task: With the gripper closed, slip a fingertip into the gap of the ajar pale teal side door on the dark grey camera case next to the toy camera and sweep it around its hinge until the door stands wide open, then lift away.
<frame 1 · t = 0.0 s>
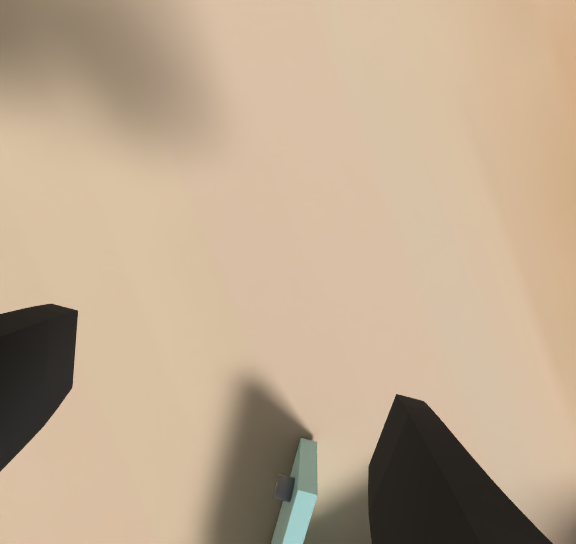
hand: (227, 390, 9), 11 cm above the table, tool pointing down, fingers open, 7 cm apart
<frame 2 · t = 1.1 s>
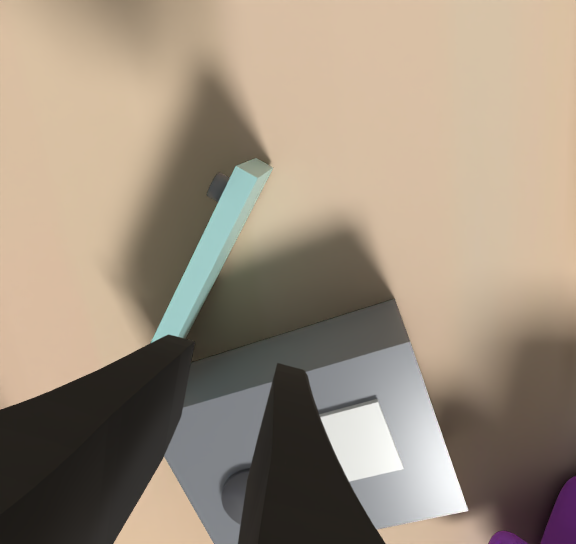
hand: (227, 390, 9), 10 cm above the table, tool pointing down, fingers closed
camera case: (310, 404, 21), on the table
side door: (191, 278, 17), point 2 cm above the table, hinge at 40.0°
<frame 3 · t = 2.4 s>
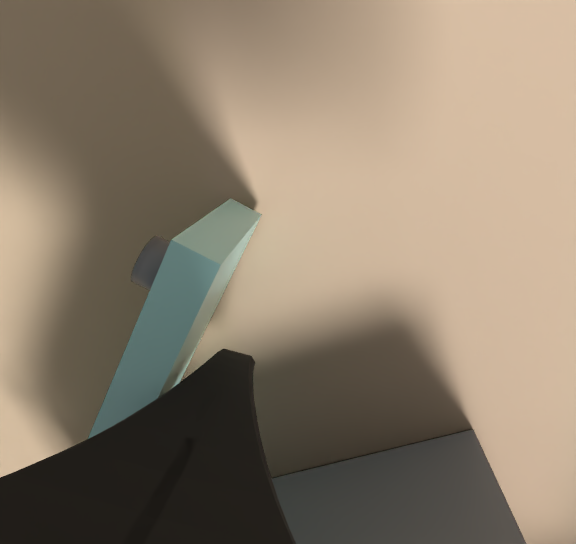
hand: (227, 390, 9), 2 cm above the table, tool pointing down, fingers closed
side door: (122, 415, 10), point 2 cm above the table, hinge at 41.3°, touching gripper
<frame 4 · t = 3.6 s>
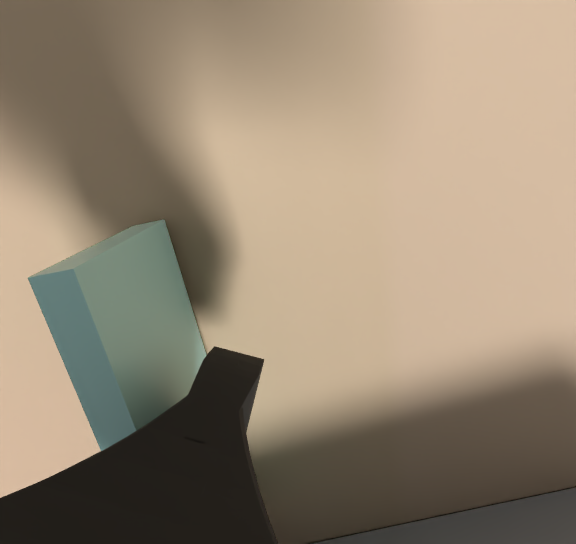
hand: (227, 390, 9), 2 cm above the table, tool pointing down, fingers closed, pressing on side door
side door: (172, 455, 10), point 2 cm above the table, hinge at 80.7°, touching gripper
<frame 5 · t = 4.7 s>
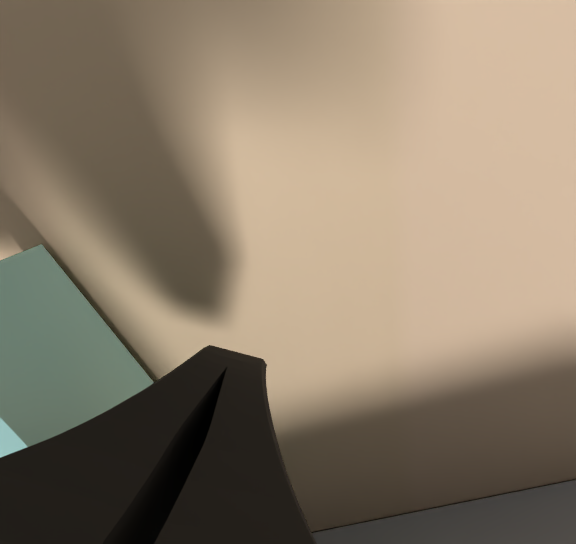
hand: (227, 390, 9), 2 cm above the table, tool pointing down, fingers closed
side door: (114, 459, 10), point 2 cm above the table, hinge at 101.9°
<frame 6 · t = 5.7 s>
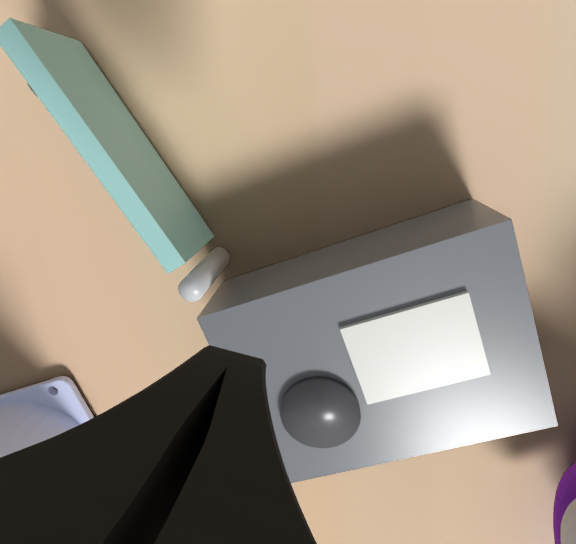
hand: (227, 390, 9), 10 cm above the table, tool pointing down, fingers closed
camera case: (368, 323, 19), on the table
side door: (127, 173, 16), point 2 cm above the table, hinge at 102.0°
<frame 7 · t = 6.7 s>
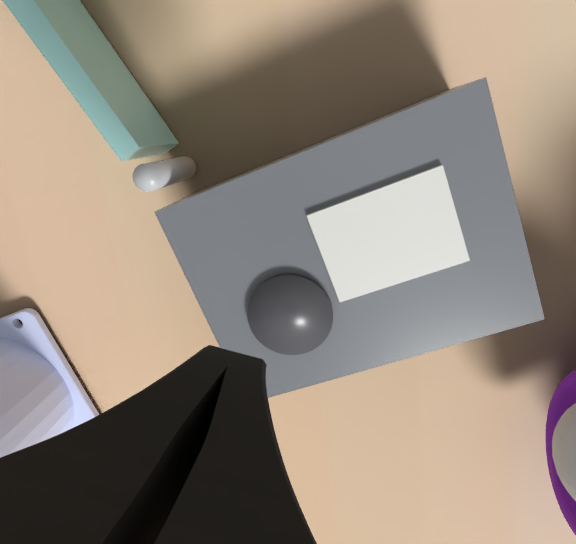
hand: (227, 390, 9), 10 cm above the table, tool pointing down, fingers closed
camera case: (345, 236, 18), on the table
side door: (78, 61, 15), point 2 cm above the table, hinge at 102.0°
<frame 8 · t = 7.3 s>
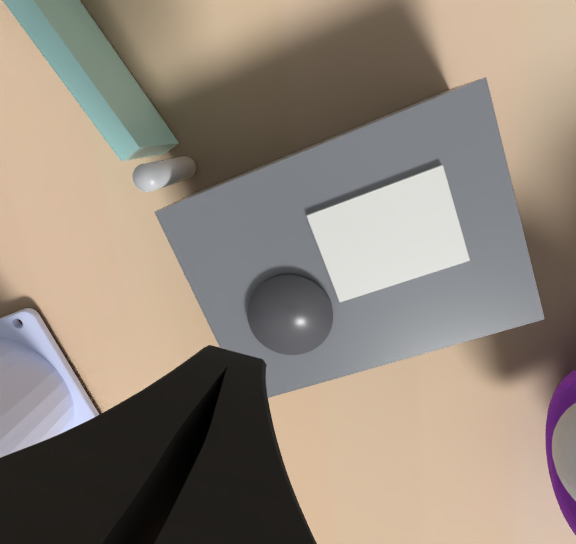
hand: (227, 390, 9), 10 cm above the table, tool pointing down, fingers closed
camera case: (345, 236, 18), on the table
side door: (78, 61, 15), point 2 cm above the table, hinge at 102.0°
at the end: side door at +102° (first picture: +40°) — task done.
